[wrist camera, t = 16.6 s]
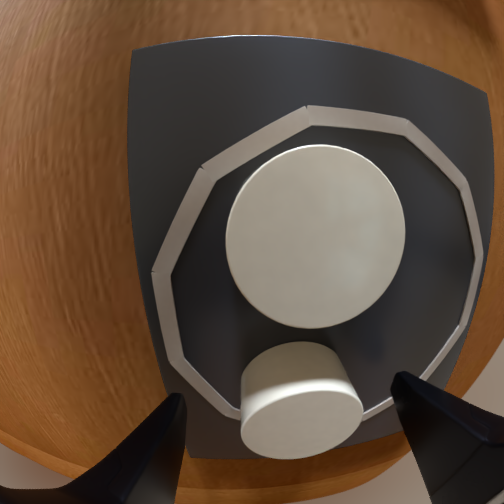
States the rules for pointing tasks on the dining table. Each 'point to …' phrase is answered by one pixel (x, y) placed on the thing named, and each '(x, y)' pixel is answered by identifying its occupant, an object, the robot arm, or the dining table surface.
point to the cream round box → (297, 401)
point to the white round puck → (315, 236)
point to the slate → (265, 148)
